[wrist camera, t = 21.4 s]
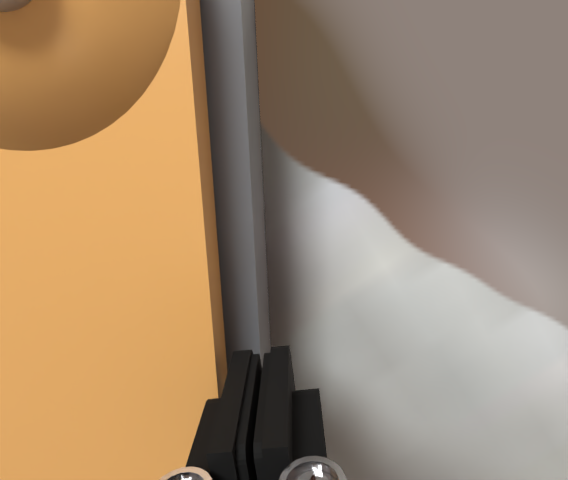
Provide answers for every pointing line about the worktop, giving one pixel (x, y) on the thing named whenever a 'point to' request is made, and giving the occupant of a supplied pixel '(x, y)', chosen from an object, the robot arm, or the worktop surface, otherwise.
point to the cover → (105, 239)
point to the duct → (237, 171)
